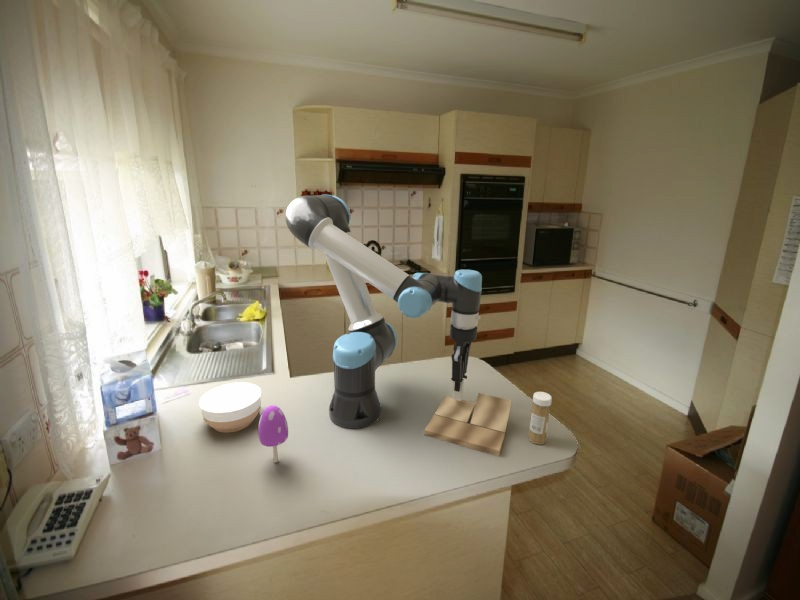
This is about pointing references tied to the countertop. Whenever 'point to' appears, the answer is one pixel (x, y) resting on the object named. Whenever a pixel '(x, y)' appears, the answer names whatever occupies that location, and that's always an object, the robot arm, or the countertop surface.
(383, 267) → the robot arm
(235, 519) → the countertop surface
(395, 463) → the countertop surface
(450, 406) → the plank
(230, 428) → the bowl
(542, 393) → the sprinkles bottle
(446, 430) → the laid board
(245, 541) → the countertop surface
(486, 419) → the plank
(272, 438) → the toy
